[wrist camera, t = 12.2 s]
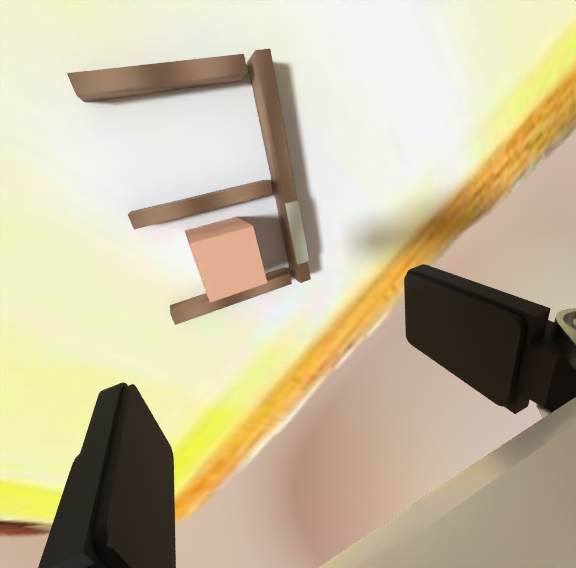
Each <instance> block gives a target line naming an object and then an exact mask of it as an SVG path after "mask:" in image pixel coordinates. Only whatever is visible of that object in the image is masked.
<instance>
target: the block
mask: <svg viewBox="0 0 576 568" xmlns="http://www.w3.org/2000/svg"><path fill="white" fill-rule="evenodd" d="M185 233H186V236H187V239H188V242H189V245H190V248H191V251H192V254H193V257H194V259H195V262H196V265H197V268H198V271H199V273H200V276H201V279H202V282H203V285H204V288H205V290H206V293H207V296H208V299H209V302H213V301H216V300H219V299H222V298H225V297H228V296H231V295H234V294H237V293H240V292H242V291H245V290H248V289H251V288H254V287H257V286H260V285H263V284H266V283H267V279H266V275H265V271H264V267H263V263H262V259H261V255H260V251H259V247H258V243H257V239H256V235H255V231H254V227H253V226H252V225H251V224H249V223H247V222H245V221H244V220H242V219H240V218H238V217H234V218H230V219H226V220H223V221H219V222H215V223H212V224H208V225H204V226H200V227H197V228H193V229H189V230H185Z"/></svg>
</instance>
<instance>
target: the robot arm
mask: <svg viewBox="0 0 576 568" xmlns="http://www.w3.org/2000/svg"><path fill="white" fill-rule="evenodd" d="M404 286H405V319H406V320H405V321H406V323H405V324H406V338H407V340H408V342H409V343H410V344H411V345H413V346H414V347H415V348H417V349H418V350H420V351H421V352H423V353H424V354H425V355H427V356H428V357H430V358H431V359H432V360H434V361H435V362H437V363H438V364H440V365H441V366H443V367H444V368H445V369H447V370H448V371H450V372H451V373H453V374H454V375H455V376H457V377H458V378H460V379H461V380H463V381H464V382H465V383H467V384H468V385H470V386H471V387H473V388H474V389H475V390H477V391H478V392H480V393H481V394H482V395H484V396H485V397H487V398H488V399H490V400H491V401H492V402H494V403H495V404H497V405H499V406H504V407H506V408H507V409H509V410H510V411H511V412H513V413H514V414H516V413H518V412H519V411H521V410H523V409H524V408H526V407H527V406H528V404H529V400H532V401H533V402H535V403H536V405H537V408H538V410H539V412H540V413H541V415H542V417H543V419H542V420H540V421H538V422H537V423H535V424H534V425H532V426H531V427H529V428H528V429H526V430H525V431H523V432H522V433H520V434H518V435H517V436H515V437H514V438H512V439H511V440H509V441H508V442H506V443H505V444H503V445H502V446H500V447H499V448H497V449H496V450H494V451H493V452H491V453H490V454H488V455H487V456H485V457H484V458H482V459H481V460H479V461H478V462H476V463H475V464H473V465H472V466H470V467H469V468H467V469H465V470H464V471H463V472H461V473H459V474H458V475H456V476H455V477H453V478H452V479H450V480H449V481H447V482H446V483H444V484H443V485H441V486H440V487H438V488H437V489H435V490H434V491H432V492H431V493H429V494H428V495H426V496H425V497H423V498H422V499H420V500H419V501H418V502H416V503H414V504H413V505H411V506H410V507H408V508H407V509H405V510H404V511H402V512H401V513H399V514H398V515H396V516H395V517H393V518H392V519H390V520H389V521H387V522H386V523H384V524H383V525H381V526H380V527H378V528H377V529H376V530H374V531H372V532H371V533H370V534H368V535H366V536H365V537H363V538H362V539H360V540H359V541H357V542H356V543H355V544H353V545H351V546H350V547H348V548H347V549H345V550H344V551H343V552H341V553H340V554H338V555H337V556H335V557H334V558H332V559H331V560H329V561H328V562H326V563H325V564H323V565H322V566H320V567H319V568H576V308H573V309H566V310H562V311H560V312H559V313H557V314H556V318H555V322H552V321H549V320H548V317H549V313H550V308H548V307H545V306H542V305H539V304H536V303H533V302H531V301H528V300H525V299H522V298H519V297H517V296H514V295H511V294H508V293H505V292H502V291H499V290H497V289H494V288H491V287H488V286H485V285H482V284H479V283H477V282H474V281H471V280H468V279H465V278H462V277H459V276H457V275H453V274H451V273H448V272H445V271H442V270H439V269H437V268H434V267H431V266H428V265H424V264H423V265H420V266H417V267H415V268H412V269H410V270H409V271H408V272H407V275H406V276H405V279H404ZM38 568H176V555H175V504H174V458H173V452H172V449H171V446H170V444H169V442H168V441H167V439H166V437H165V435H164V434H163V432H162V430H161V429H160V427H159V425H158V423H157V422H156V420H155V418H154V417H153V415H152V413H151V411H150V410H149V408H148V406H147V405H146V403H145V401H144V399H143V398H142V396H141V394H140V393H139V391H138V389H137V388H136V386H135V385H134V384H132V385H129V386H128V385H127V384H126V383H120V384H118V385H115V386H113V387H110V388H107V389H105V390H102V391H101V392H100V393H99V395H98V398H97V402H96V405H95V408H94V411H93V414H92V417H91V421H90V424H89V427H88V430H87V433H86V436H85V440H84V443H83V446H82V449H81V452H80V454H79V455H78V456H77V457H76V458H75V460H74V462H73V464H72V467H71V470H70V473H69V476H68V479H67V482H66V485H65V488H64V491H63V494H62V497H61V500H60V503H59V506H58V509H57V512H56V515H55V518H54V521H53V525H52V528H51V531H50V534H49V537H48V540H47V543H46V546H45V549H44V552H43V555H42V558H41V561H40V564H39V567H38Z"/></svg>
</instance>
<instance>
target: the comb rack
mask: <svg viewBox="0 0 576 568" xmlns="http://www.w3.org/2000/svg"><path fill="white" fill-rule="evenodd" d="M247 63H248V68H249V73H250V78H251V82H252V87H253V92H254V97H255V102H256V107H257V112H258V116H259V121H260V126H261V131H262V136H263V141H264V145H265V150H266V155H267V160H268V165H269V170H270V175H271V179H272V184H273V189H274V194H275V199H276V204H277V208H278V213H279V218H280V223H281V228H282V233H283V238H284V242H285V247H286V252H287V257H288V262H289V267H290V271H291V276H292V277H294V278H295V279H296V280H297V281H299V282H300V283H302V282H304V281H307V280H310V279H311V278H310V272H309V266H308V261H309V258H308V252H307V246H306V240H305V235H304V229H303V223H302V217H301V212H300V206H299V200H297V198H296V192H295V187H294V181H293V175H292V170H291V164H290V158H289V153H288V147H287V141H286V136H285V130H284V124H283V119H282V113H281V107H280V101H279V96H278V90H277V84H276V79H275V73H274V67H273V62H272V56H271V50H270V49H263V50H255V52H254V53H253V54H252V56H251V57H250V59H249V60H248V62H247ZM247 73H248V72H247V67H246V62H245V58H244V54H238V55H229V56H220V57H211V58H202V59H193V60H184V61H175V62H166V63H157V64H148V65H139V66H130V67H121V68H111V69H102V70H93V71H84V72H75V73H67V74H68V77H69V79H70V81H71V84H72V86H73V88H74V91H75V93H76V95H77V96H78V97H79V98H80V99H81V100H82V101H84V102H87V101H95V100H102V99H110V98H117V97H124V96H132V95H139V94H146V93H154V92H161V91H168V90H176V89H183V88H190V87H198V86H205V85H212V84H220V83H227V82H234V81H242V80H243V78H244V77H245V76H246V74H247ZM271 194H273V192H272V187H271V182H270V180H262V181H257V182H253V183H249V184H245V185H241V186H236V187H232V188H228V189H224V190H220V191H216V192H211V193H207V194H203V195H199V196H195V197H190V198H186V199H182V200H178V201H174V202H169V203H165V204H161V205H157V206H153V207H148V208H144V209H140V210H136V211H132V212H130V213H129V214H128V216H129V219H130V221H131V223H132V226H133V228H134V229H138V228H142V227H145V226H149V225H153V224H157V223H161V222H165V221H169V220H173V219H177V218H181V217H185V216H189V215H193V214H196V213H200V212H204V211H208V210H212V209H216V208H220V207H224V206H228V205H232V204H236V203H240V202H243V201H247V200H251V199H255V198H259V197H263V196H267V195H271ZM265 275H266V279H267V283H266V284H263V285H260V286H257V287H254V288H251V289H248V290H245V291H242V292H240V293H237V294H234V295H231V296H228V297H225V298H222V299H219V300H216V301H213V302H209V299H208V296H207V293H206V294H203V295H200V296H197V297H194V298H191V299H188V300H185V301H182V302H179V303H176V304H173V305H170V312H171V316H172V319H173V321H174V323H175V325H176V324H179V323H182V322H185V321H188V320H190V319H193V318H196V317H199V316H202V315H205V314H207V313H210V312H213V311H216V310H219V309H222V308H224V307H227V306H230V305H233V304H236V303H239V302H241V301H244V300H247V299H250V298H253V297H256V296H258V295H261V294H264V293H267V292H270V291H273V290H275V289H278V288H281V287H284V286H287V285H290V284H292V283H291V278H290V273H288V272H287V271H286V270H285V269H283V268H281V269H278V270H275V271H272V272H269V273H266V274H265Z"/></svg>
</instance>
